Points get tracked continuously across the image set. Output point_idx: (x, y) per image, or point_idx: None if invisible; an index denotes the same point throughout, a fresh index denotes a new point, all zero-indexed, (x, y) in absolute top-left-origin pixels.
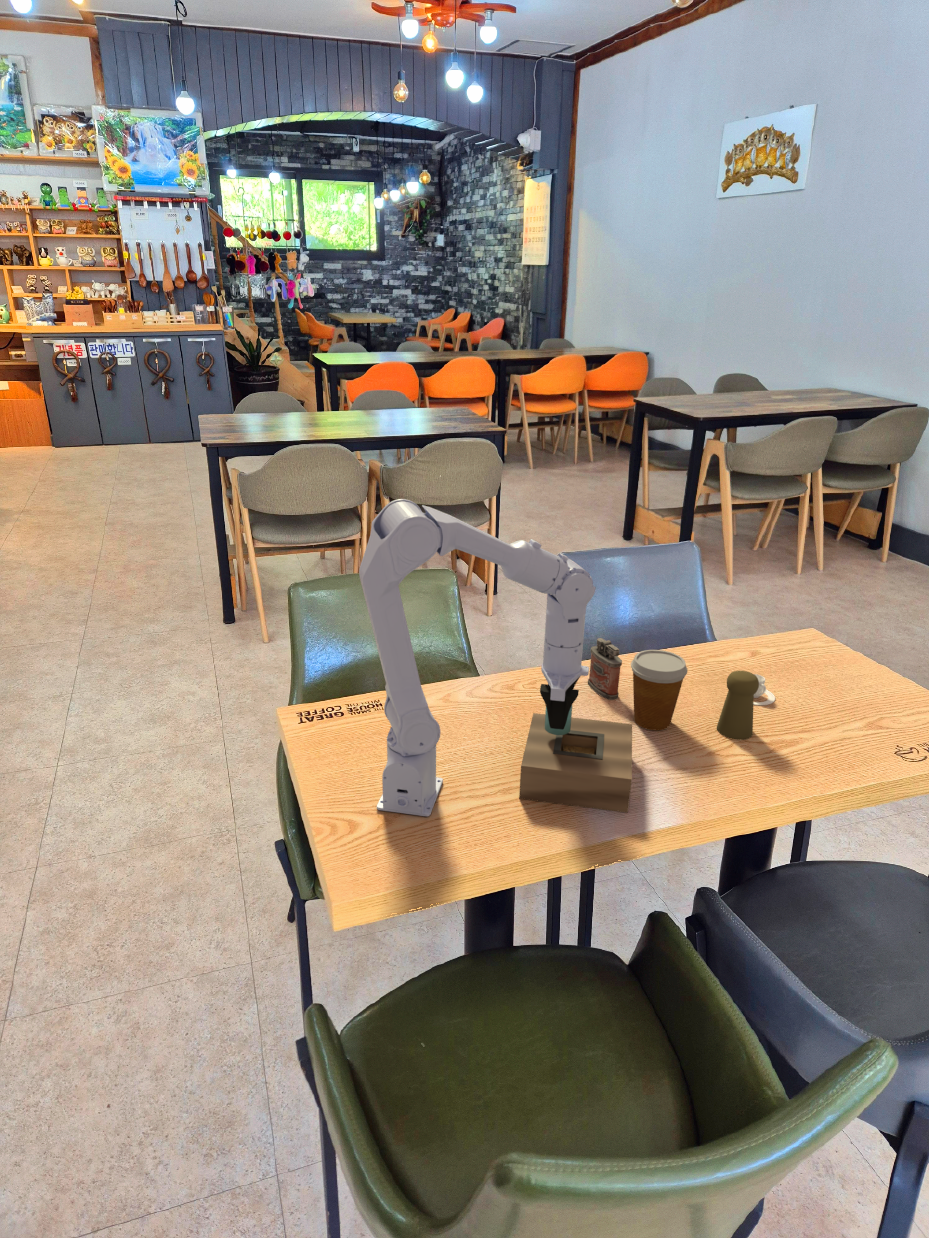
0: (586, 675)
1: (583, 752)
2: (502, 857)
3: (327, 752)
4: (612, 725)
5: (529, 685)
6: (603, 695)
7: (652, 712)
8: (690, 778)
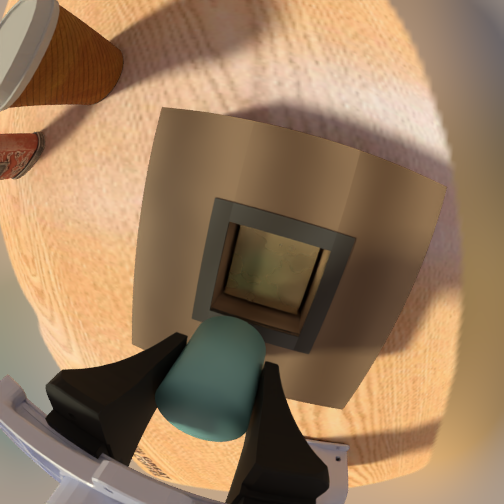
0: (193, 501)
1: (258, 254)
2: (445, 383)
3: (216, 480)
4: (166, 163)
5: (30, 266)
6: (37, 156)
7: (97, 66)
8: (290, 25)
